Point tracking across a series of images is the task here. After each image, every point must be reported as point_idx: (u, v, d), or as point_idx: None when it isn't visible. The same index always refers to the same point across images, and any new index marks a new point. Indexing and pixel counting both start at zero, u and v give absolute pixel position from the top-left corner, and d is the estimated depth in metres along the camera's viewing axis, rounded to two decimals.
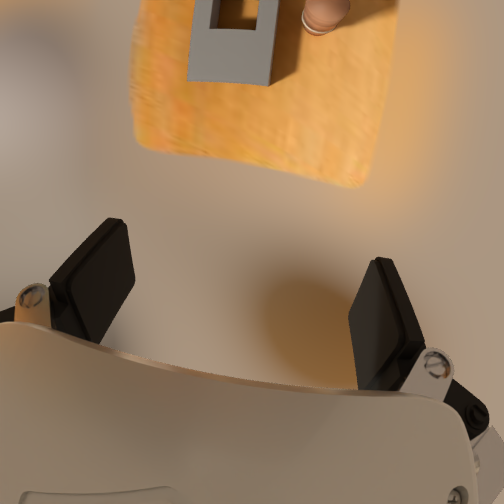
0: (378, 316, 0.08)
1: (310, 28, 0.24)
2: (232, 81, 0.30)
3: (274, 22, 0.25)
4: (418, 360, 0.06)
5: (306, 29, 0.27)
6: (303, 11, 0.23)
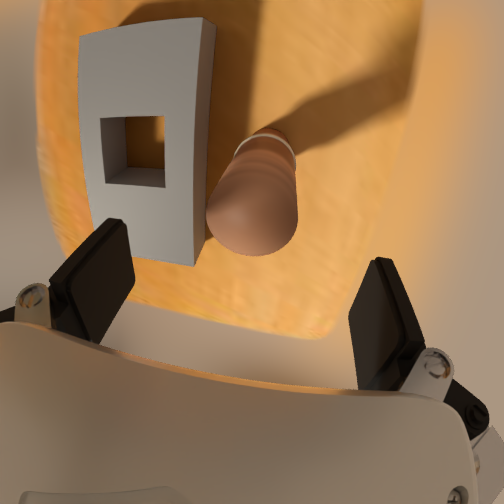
0: (378, 316, 0.08)
1: None
2: (149, 257, 0.25)
3: (191, 174, 0.20)
4: (418, 360, 0.06)
5: None
6: (235, 154, 0.18)
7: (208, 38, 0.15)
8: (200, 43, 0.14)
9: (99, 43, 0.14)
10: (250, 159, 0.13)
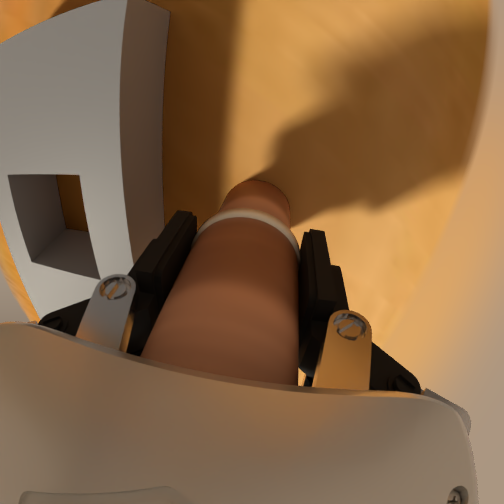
0: (302, 282, 0.09)
1: None
2: None
3: (131, 266, 0.12)
4: (328, 328, 0.07)
5: None
6: (192, 245, 0.11)
7: (147, 31, 0.08)
8: (123, 39, 0.07)
9: None
10: (191, 340, 0.05)
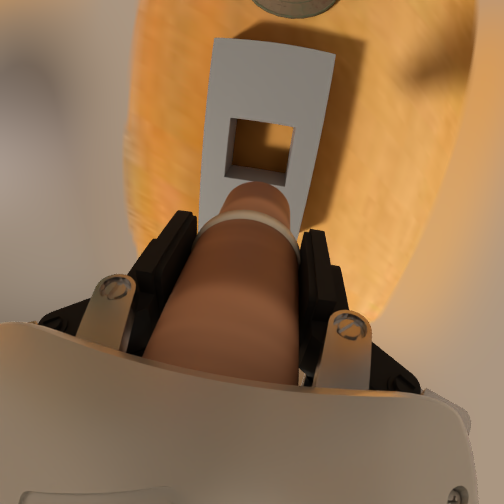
0: (302, 282, 0.09)
1: None
2: None
3: (310, 177, 0.25)
4: (328, 328, 0.07)
5: None
6: (193, 246, 0.11)
7: None
8: None
9: (237, 50, 0.19)
10: (193, 342, 0.05)
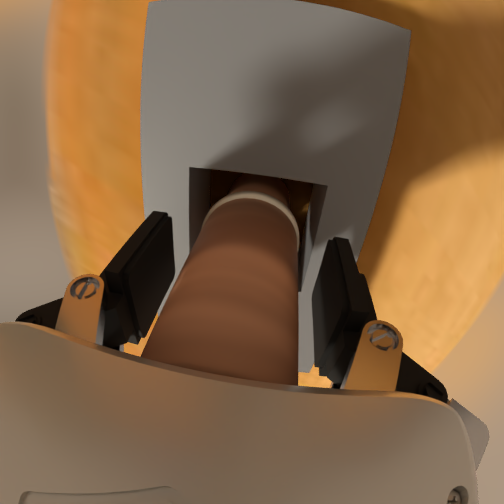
0: (330, 291, 0.09)
1: None
2: None
3: None
4: (362, 336, 0.07)
5: None
6: (204, 224, 0.12)
7: None
8: (405, 73, 0.08)
9: (196, 19, 0.08)
10: (210, 286, 0.07)
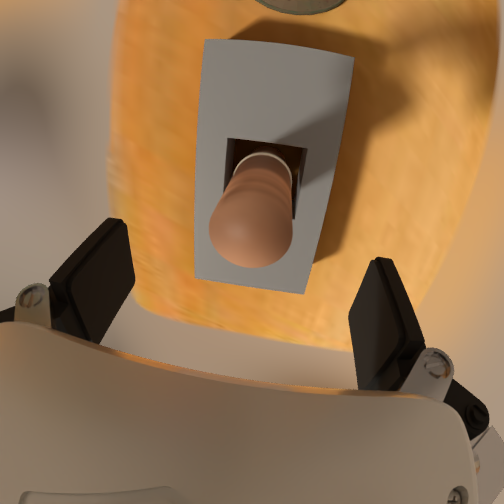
0: (378, 316, 0.08)
1: None
2: (257, 286, 0.26)
3: (324, 208, 0.21)
4: (418, 360, 0.06)
5: None
6: (235, 171, 0.20)
7: None
8: None
9: (233, 53, 0.15)
10: (249, 178, 0.14)
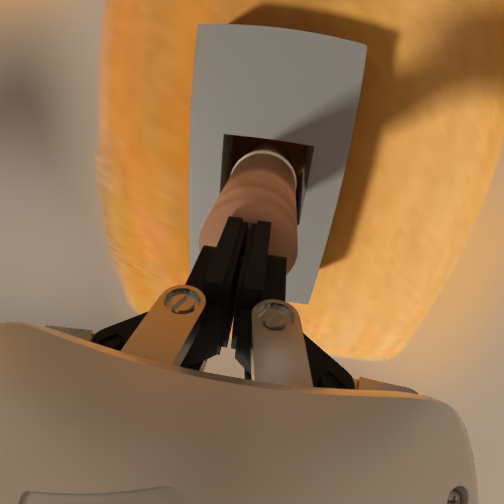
0: None
1: None
2: None
3: (332, 213, 0.19)
4: (253, 323, 0.07)
5: None
6: (232, 172, 0.17)
7: None
8: (363, 73, 0.13)
9: (230, 39, 0.13)
10: (247, 182, 0.12)
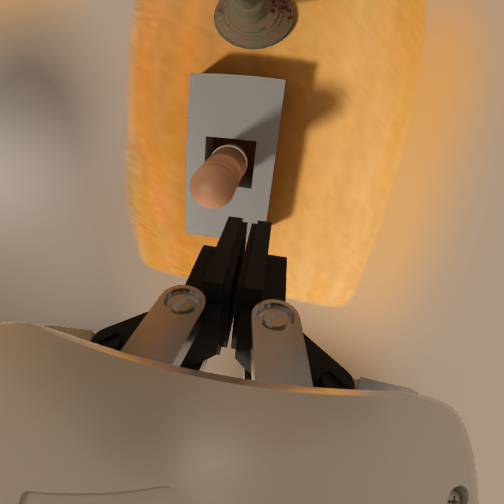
0: None
1: None
2: None
3: (270, 180, 0.31)
4: (253, 323, 0.07)
5: None
6: None
7: None
8: (283, 97, 0.26)
9: (208, 82, 0.26)
10: (213, 159, 0.25)
